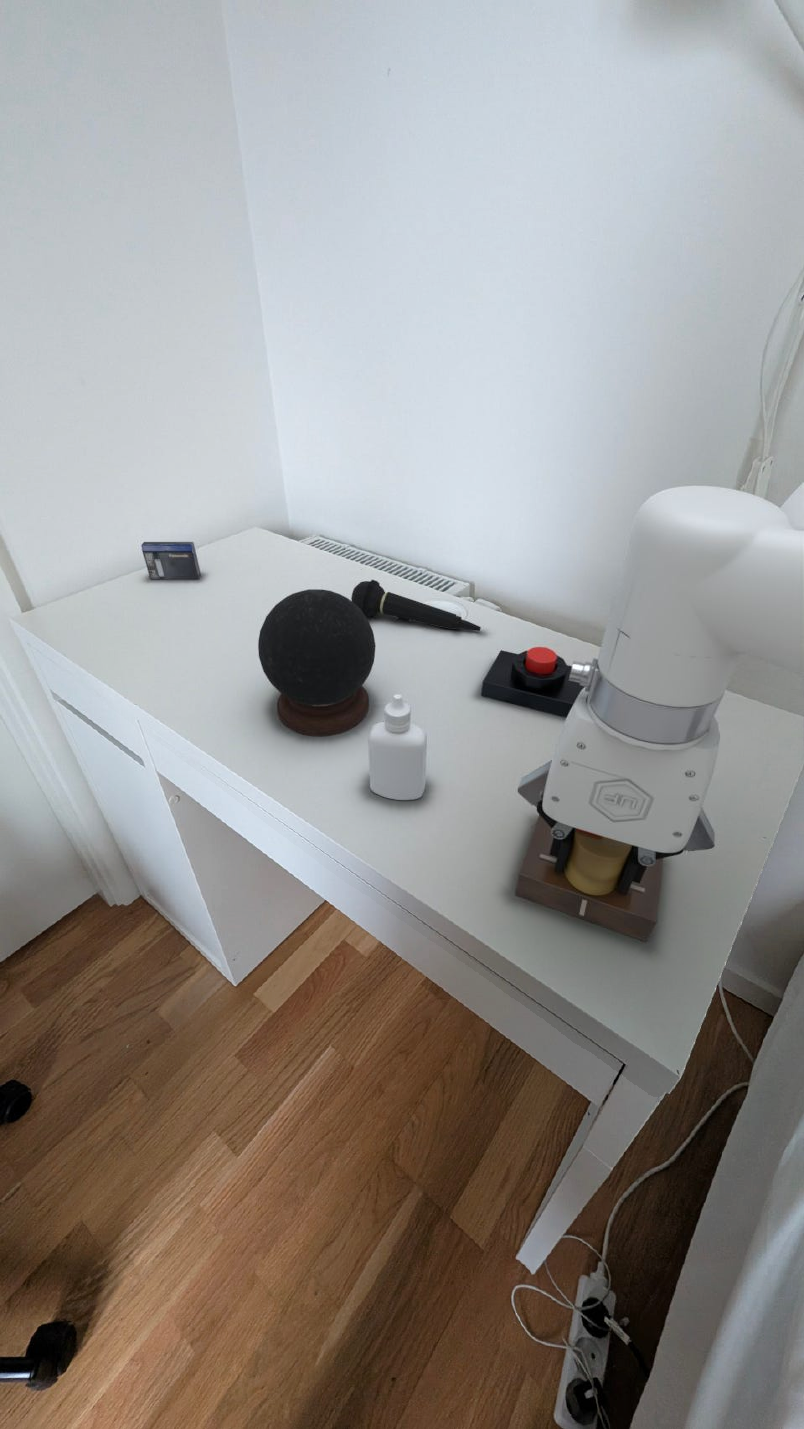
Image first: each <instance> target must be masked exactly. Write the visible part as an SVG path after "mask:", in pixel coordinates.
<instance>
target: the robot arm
mask: <svg viewBox="0 0 804 1429" xmlns="http://www.w3.org/2000/svg"><path fill="white" fill-rule="evenodd" d="M612 598H613V599H612V603H611V607H610V610H609V614H608V618H607V622H606V626H605V628H604V633H603V636H602V640H601V645H600V648H599V652H598V655H597V656H598V657H597V658H595V657H594V658H592V661H591V662H590V661H585V662H580V661H575V660H573V663H572V665H571V666H572V669H571V673H570V677H569V681H573V682H578V683H580V685H581V686H586V687H584V688H583V689H582V690H581V692H580V693H579V695H578V697H577V699H576V700H575V702H574V704H573V706H572V708H571V710H570V712H569V714H568V716H567V717H565V718H566V719H565V720H564V723H563V726H562V729H561V731H560V735H559V736H558V739H557V742H556V746H555V748H554V753H553V756H552V759H551V760H549V761H548V762H546V763H545V764H543V765H541V766H539V767H537V768H536V769H534V770H533V771H531V772H529V773H527V774H526V775H524V776H522V777H521V778H520V782H519V784H518V787H517V793H518V794H519V795H520V796H521V797H522V798H523V799H524V800H525V801H527V802H528V803H529V804H530V805H531V806H534V807H535V808H536V812H537V813H538V816H539V815H540V816H541V817H542V818H543V819H544V820H545V821H546V823H547V824H548V825H549V826H550V827H551V828H552V830H551V834H552V836H553V837H554V838H553V842H552V846H551V849H550V853H549V855H551V856H554V857H557V861H556V865H555V869H554V872H556V873H559V874H560V872H561V873H563V870H564V867H565V863H566V860H567V856H568V853H569V850H570V846H571V842H572V838H573V834H574V830H575V828H577V829H581V830H584V831H587V832H590V833H594V834H597V835H600V836H603V837H607V838H610V839H613V840H617V841H620V842H624V843H627V844H631V845H632V849H631V851H630V854H629V856H628V859H627V861H626V864H625V866H624V869H623V871H622V874H621V876H620V879H619V884H618V891H620V894H623V895H627V893H628V891H629V888H630V886H631V884H632V881H633V882H636V883H640V882H641V879H642V877H643V875H644V872H645V870H646V868H647V866H653V865H654V864H655V860H657V859H661V858H664V859H665V858H669V857H674V856H679V855H681V854H683V853H684V851H687V852H697V851H704V850H706V851H707V850H712V849H714V848H715V845H716V841H715V840H716V837H715V836H716V833H715V830H714V828H713V826H712V824H711V822H710V820H709V818H708V816H707V815H706V812H705V810H704V809H703V804H704V802H705V799H706V797H707V793H708V791H709V787H710V785H711V784H710V783H711V781H712V777H713V774H714V770H715V768H716V763H717V759H718V755H719V749H720V742H721V734H720V729H719V723H718V720H717V718H716V717H715V715H716V713H717V711H718V709H719V706H720V704H721V702H722V699H723V697H724V695H725V692H726V690H727V688H728V686H729V684H730V681H731V679H732V677H733V675H734V672H735V670H736V668H737V665H738V663H739V661H740V659H741V656H742V654H743V655H745V656H747V657H751V658H753V659H756V660H759V661H762V662H765V663H767V664H770V665H772V666H775V667H778V668H781V669H783V670H786V671H789V672H790V673H791V672H792V673H794V674H796V675H799V676H802V677H804V481H803V482H802V483H801V484H800V485H799V486H798V487H797V488H796V489H795V490H794V491H793V492H792V493H791V494H790V495H789V496H788V498H787V499H786V500H785V501H784V502H783V503H782V505H781V506H777V505H776V504H775V503H773V502H771V501H769V500H768V499H765V498H762V497H760V496H758V495H755V494H753V493H749V492H747V491H746V492H745V491H742V490H738V489H734V488H728V487H722V486H712V485H710V486H709V485H681V486H676V487H671V488H666V489H663V490H661V491H659V492H657V493H655V494H652V495H651V496H650V497H648V498H647V499H646V500H645V501H644V502H643V504H642V505H641V506H640V508H639V509H638V510H637V512H636V514H635V516H634V518H633V522H632V526H631V528H630V531H629V535H628V540H627V543H626V547H625V551H624V555H623V558H622V563H621V568H620V571H619V574H618V578H617V583H616V586H615V591H614V595H613V597H612Z"/></svg>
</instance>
